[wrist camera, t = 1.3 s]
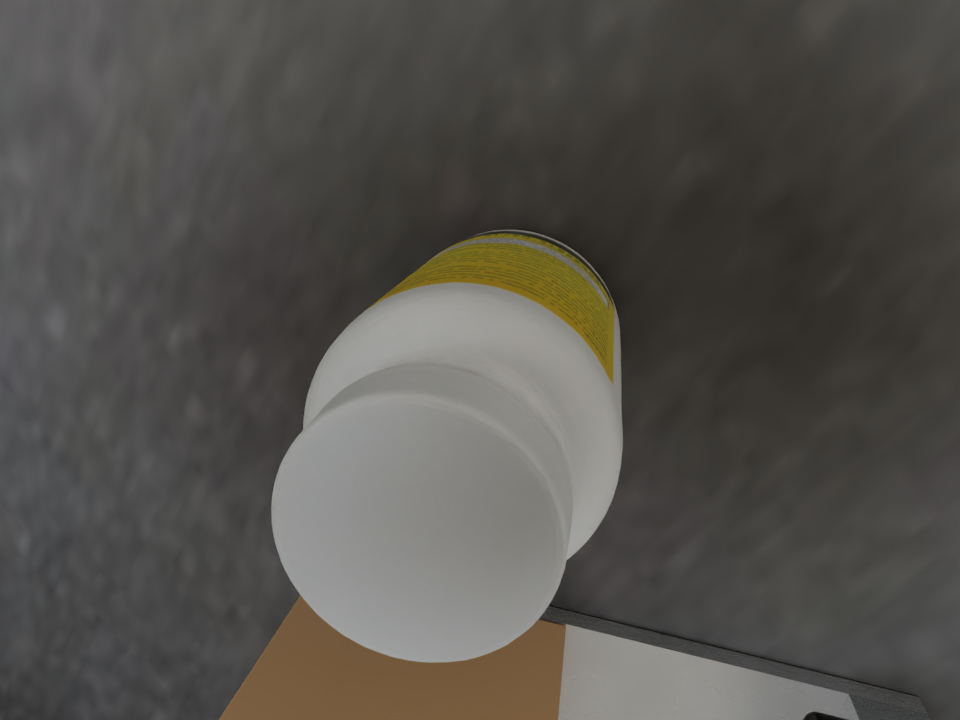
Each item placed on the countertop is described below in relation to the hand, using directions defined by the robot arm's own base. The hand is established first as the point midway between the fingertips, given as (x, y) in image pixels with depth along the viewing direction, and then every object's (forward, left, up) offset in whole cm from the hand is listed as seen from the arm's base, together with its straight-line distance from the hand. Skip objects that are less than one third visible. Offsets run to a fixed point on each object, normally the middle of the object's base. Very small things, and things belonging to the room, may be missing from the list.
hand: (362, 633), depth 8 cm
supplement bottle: (0, 0, -12) cm, 12 cm away
